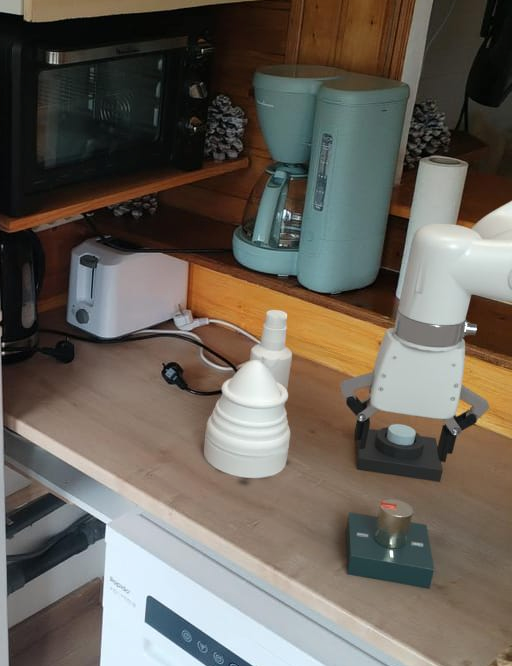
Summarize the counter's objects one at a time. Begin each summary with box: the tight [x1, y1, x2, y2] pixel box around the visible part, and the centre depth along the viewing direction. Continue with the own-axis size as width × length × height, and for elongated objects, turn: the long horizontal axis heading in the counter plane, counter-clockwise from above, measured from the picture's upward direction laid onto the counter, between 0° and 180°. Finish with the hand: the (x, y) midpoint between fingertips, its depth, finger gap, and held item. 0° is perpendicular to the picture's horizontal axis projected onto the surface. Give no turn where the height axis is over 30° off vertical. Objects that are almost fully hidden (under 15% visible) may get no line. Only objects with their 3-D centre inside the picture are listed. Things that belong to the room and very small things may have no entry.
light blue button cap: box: [387, 423, 417, 445], centre depth 141 cm, size 4×4×2 cm
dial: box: [374, 498, 414, 548], centre depth 118 cm, size 4×4×5 cm
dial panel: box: [345, 512, 435, 589], centre depth 119 cm, size 10×10×3 cm
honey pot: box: [203, 352, 292, 479], centre depth 139 cm, size 13×13×18 cm
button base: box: [354, 426, 444, 483], centre depth 142 cm, size 12×10×4 cm
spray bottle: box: [249, 309, 293, 408], centre depth 154 cm, size 7×7×18 cm
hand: (400, 450), depth 116 cm, fingers open, 9 cm apart
